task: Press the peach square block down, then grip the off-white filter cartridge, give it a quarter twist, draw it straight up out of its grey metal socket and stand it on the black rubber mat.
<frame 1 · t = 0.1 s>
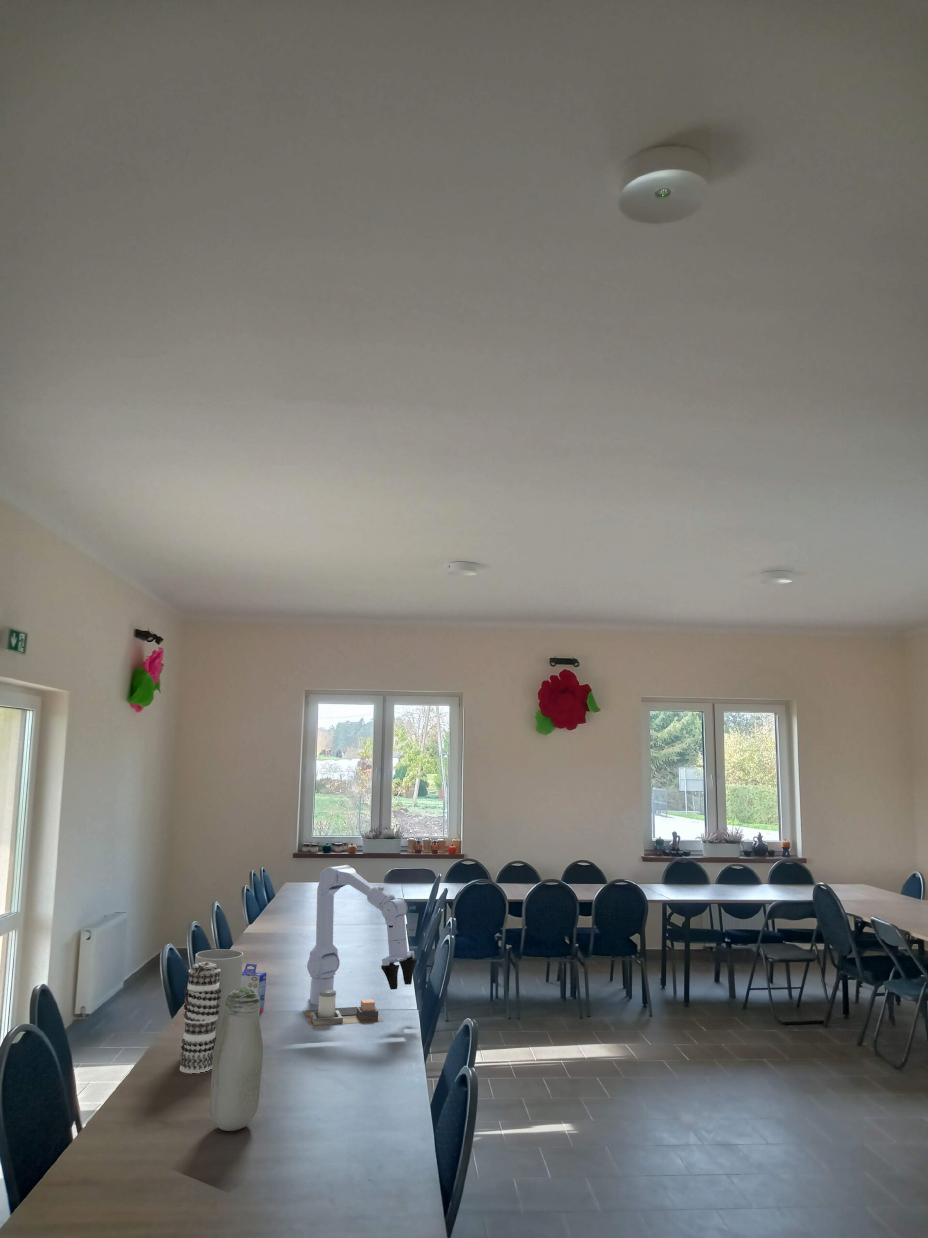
hand: (401, 987, 260), 10 cm above the table, tool pointing down, fingers open, 7 cm apart
filter cartridge: (326, 1020, 256), point 1 cm above the table, touching base board
base board: (342, 1019, 261), on the table
peach square block: (367, 1006, 261), point 4 cm above the table, slide at 0.0 cm
decorative candle: (196, 1068, 216), on the table
glass bottle: (232, 1129, 181), on the table
cylinder vase: (211, 1053, 227), on the table
rubber mat: (349, 1012, 265), resting on base board
ink cartridge box: (246, 1015, 263), on the table
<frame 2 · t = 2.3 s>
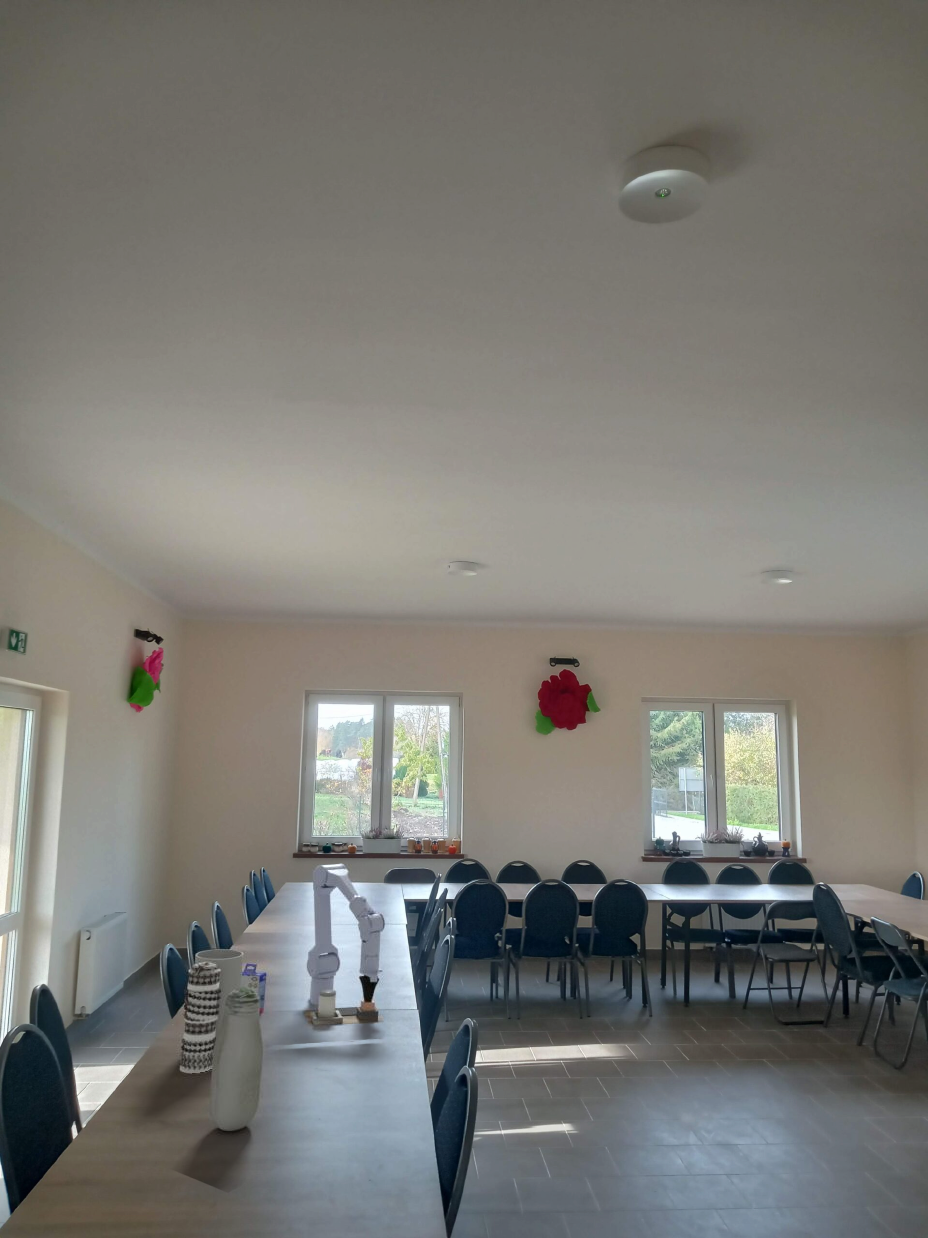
hand: (367, 1001, 261), 6 cm above the table, tool pointing down, fingers closed, pressing on peach square block
peach square block: (367, 1006, 260), point 4 cm above the table, slide at -0.1 cm, touching gripper
everything else where it was.
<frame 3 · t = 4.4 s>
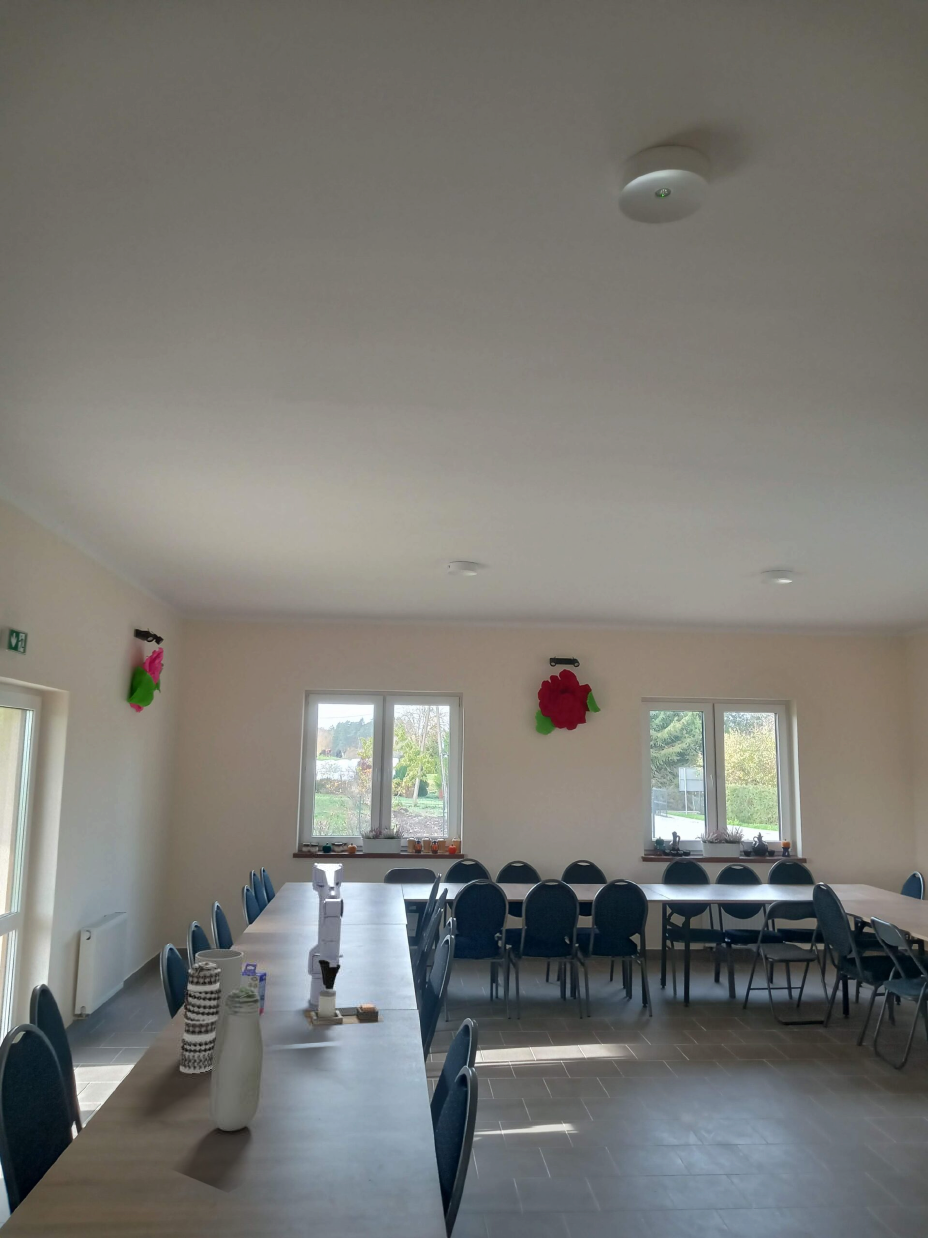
hand: (328, 987, 258), 10 cm above the table, tool pointing down, fingers open, 4 cm apart
peach square block: (367, 1011, 260), point 3 cm above the table, slide at -1.3 cm
everything else where it was.
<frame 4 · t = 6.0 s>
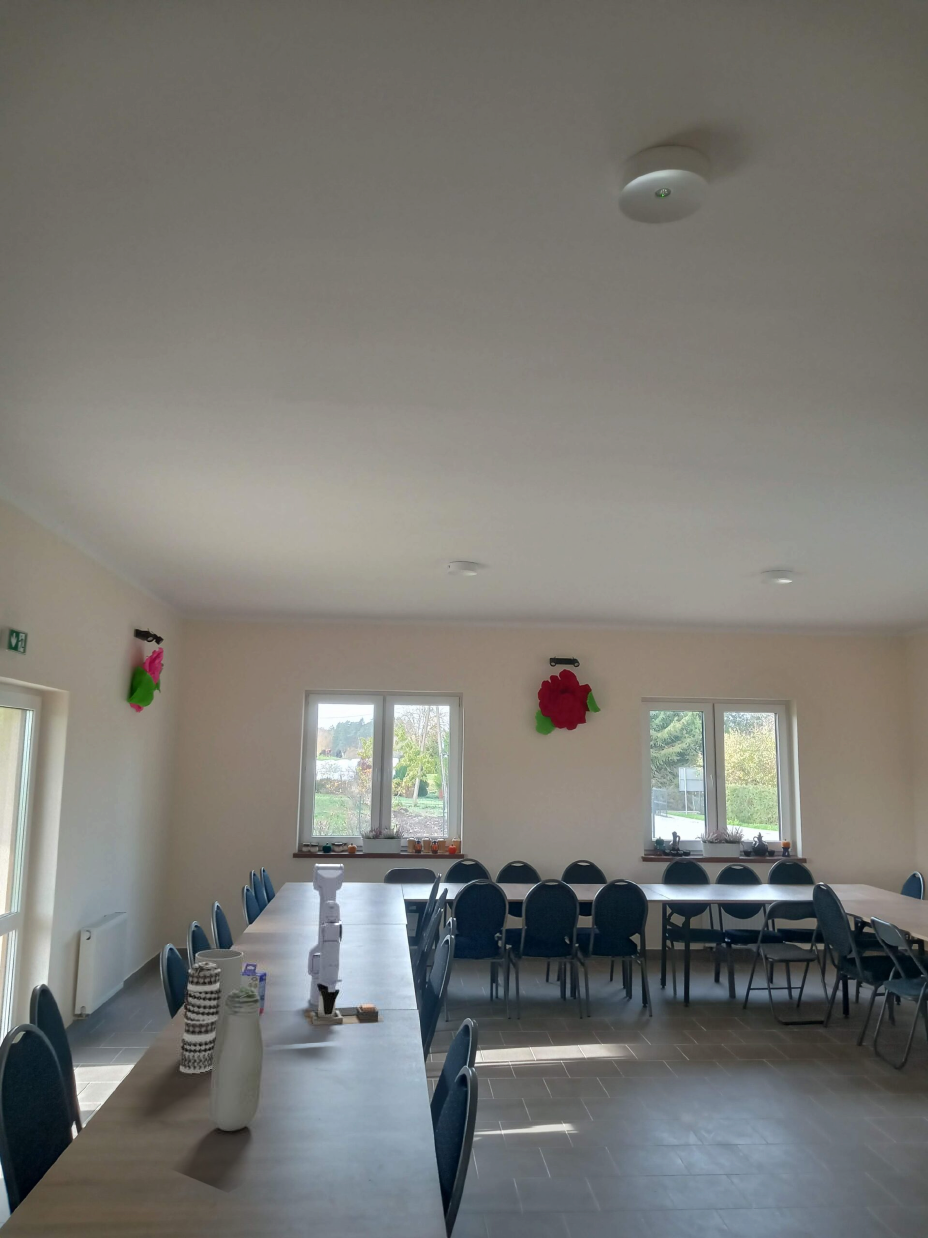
hand: (326, 1011, 257), 3 cm above the table, tool pointing down, fingers closed on filter cartridge, 5 cm apart
filter cartridge: (326, 1020, 256), point 1 cm above the table, touching base board, gripper
everything else where it was.
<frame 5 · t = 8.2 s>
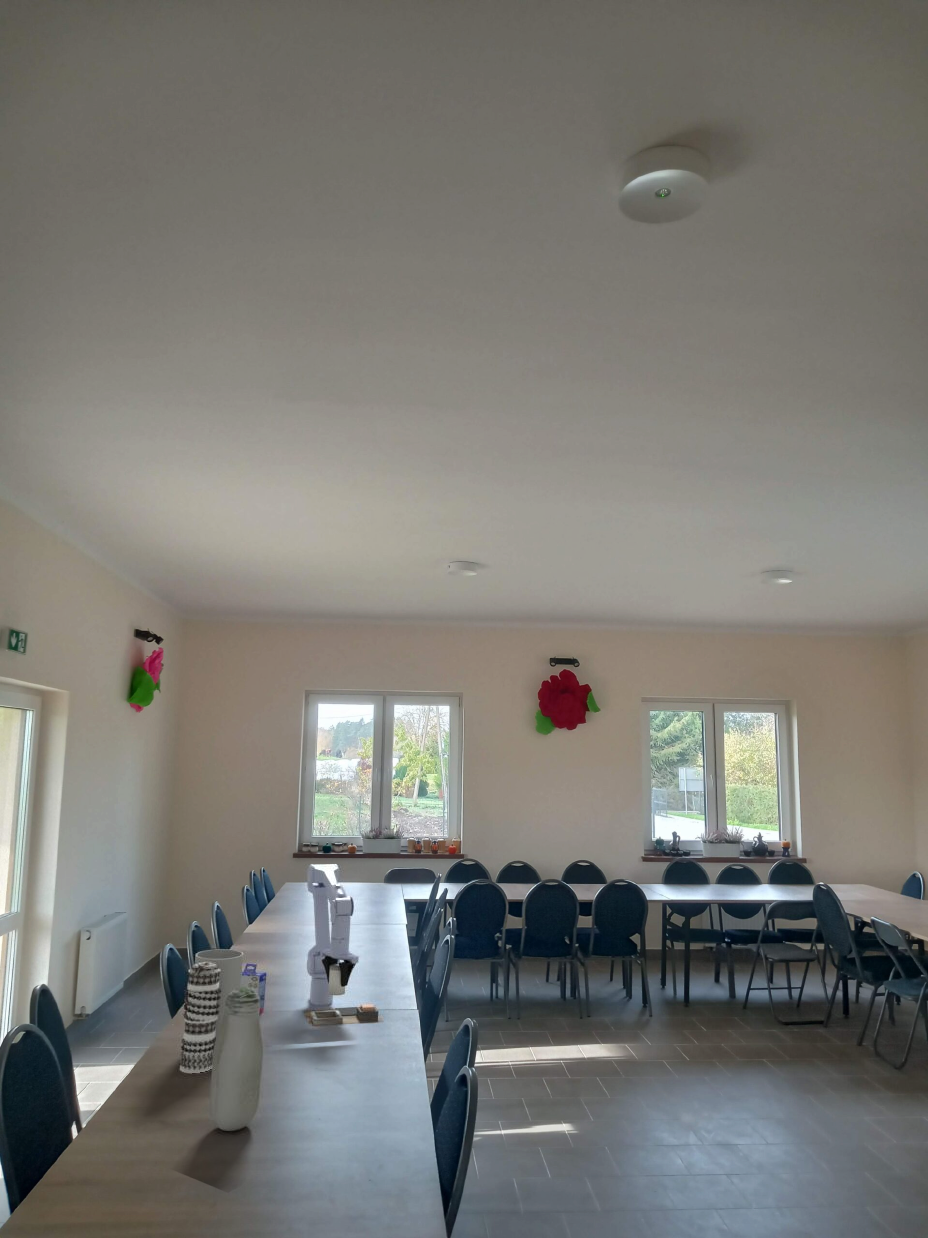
hand: (337, 984, 262), 10 cm above the table, tool pointing down, fingers closed on filter cartridge, 5 cm apart
filter cartridge: (336, 993, 261), point 8 cm above the table, touching gripper
everything else where it was.
when the fingers open (5 cm above the table, at t = 10.3 s): filter cartridge drops 1 cm, resting on rubber mat.
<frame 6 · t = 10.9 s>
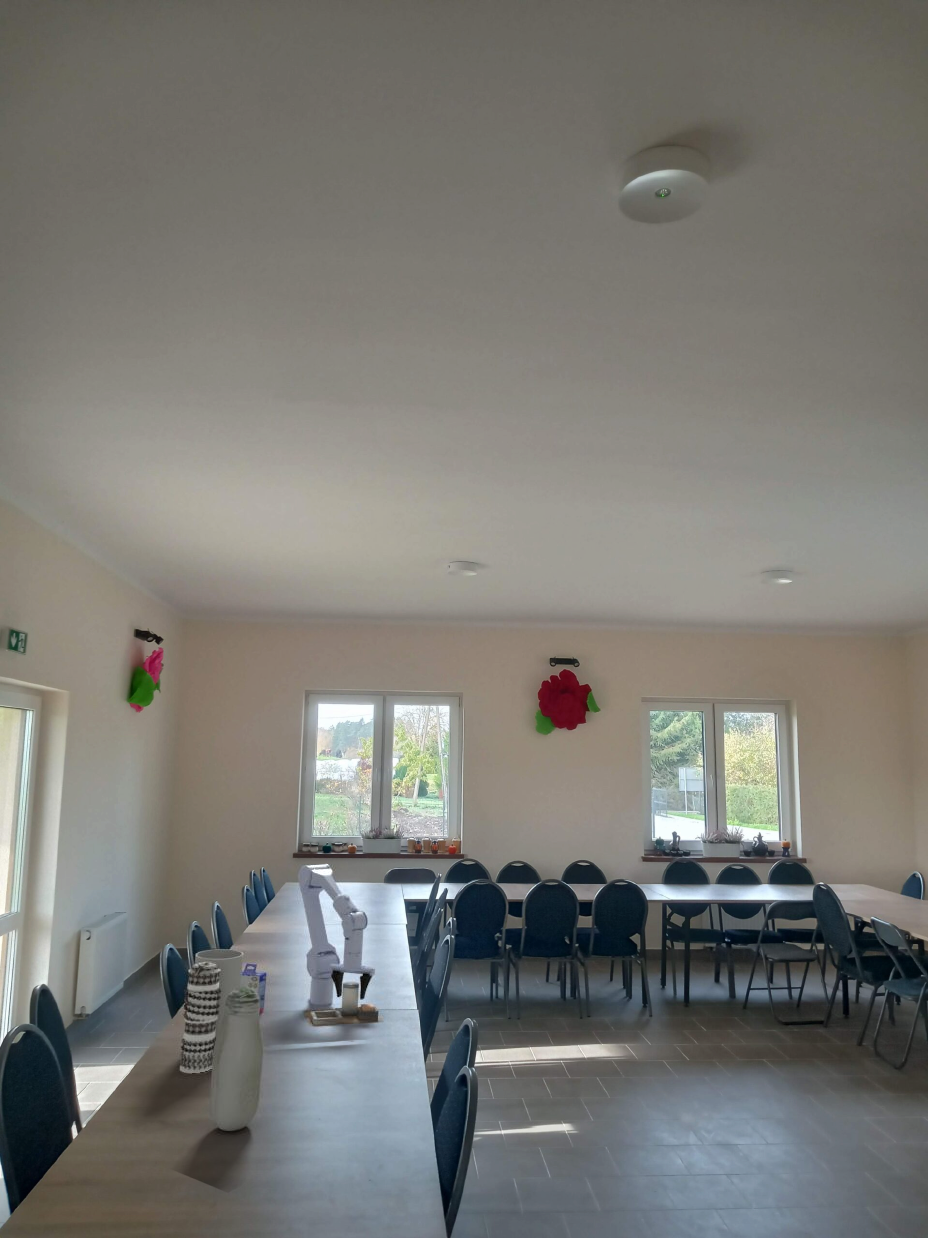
hand: (350, 997, 266), 5 cm above the table, tool pointing down, fingers open, 7 cm apart
filter cartridge: (349, 1011, 265), point 1 cm above the table, touching rubber mat
everything else where it was.
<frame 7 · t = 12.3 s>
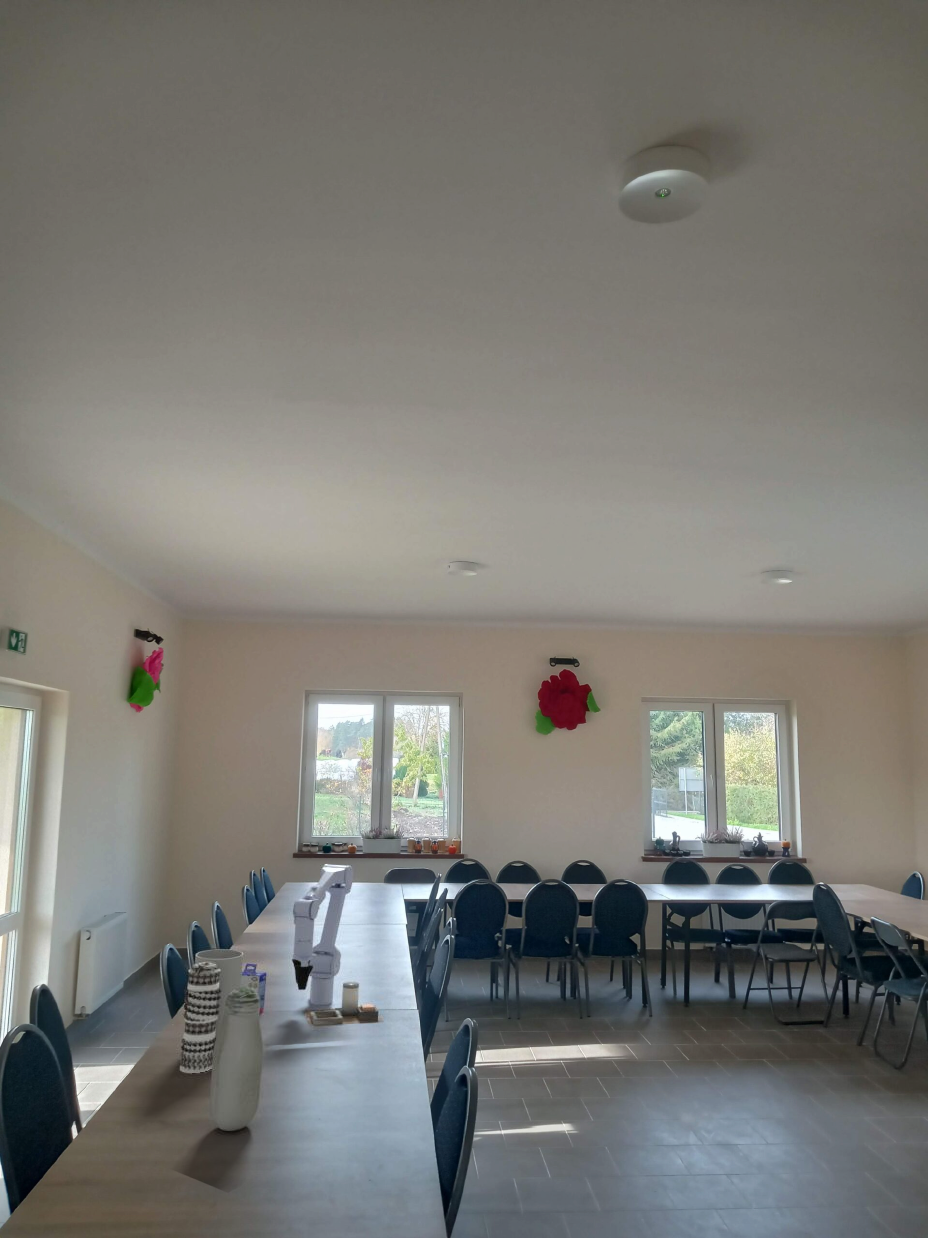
hand: (300, 986, 261), 9 cm above the table, tool pointing down, fingers open, 7 cm apart
nothing on the table moved.
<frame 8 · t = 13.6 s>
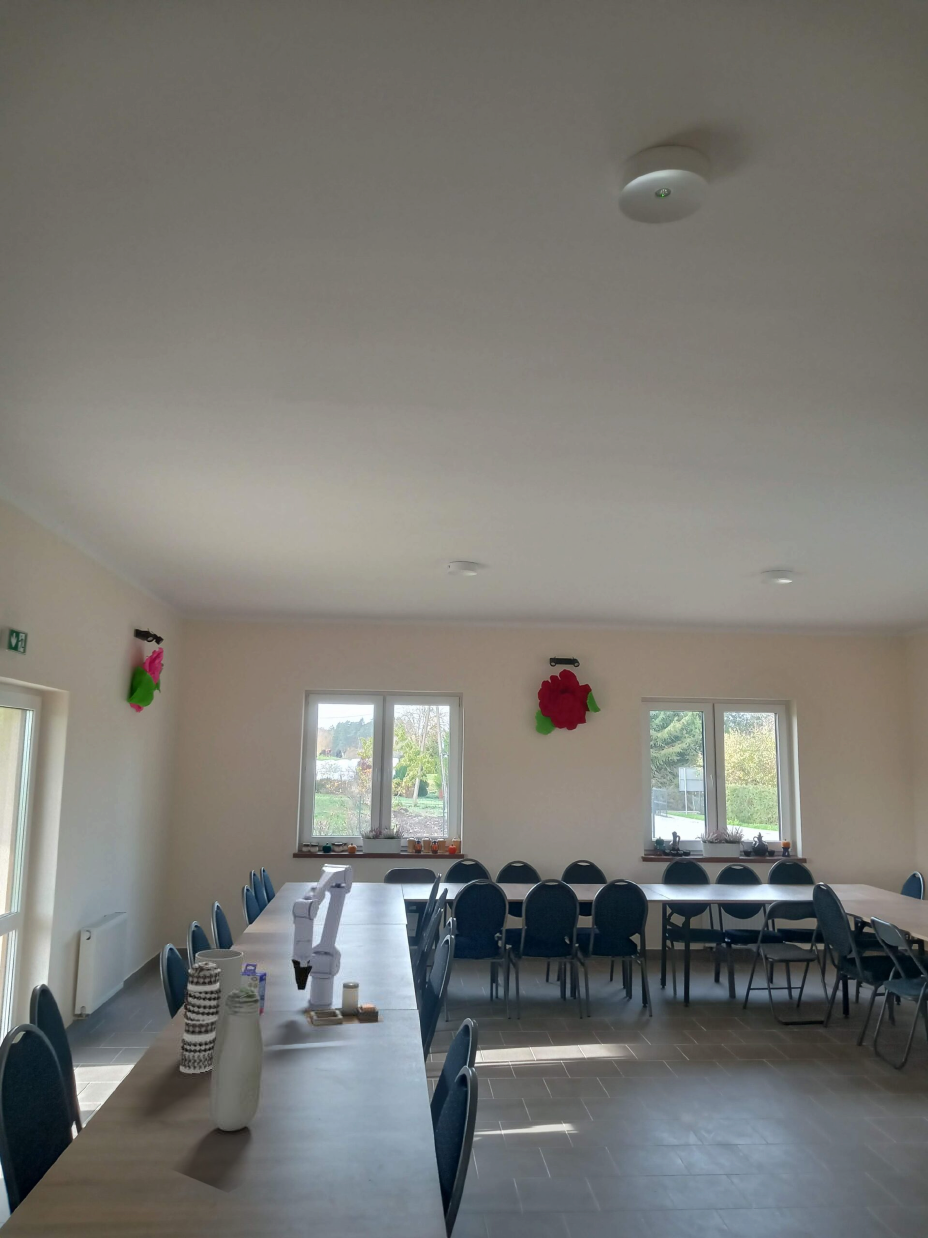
hand: (300, 986, 261), 9 cm above the table, tool pointing down, fingers open, 7 cm apart
nothing on the table moved.
at the end: peach square block slide at -1.3 cm; filter cartridge 0.2 cm from the target spot, point 1.3 cm above the table; filter cartridge tilted 0° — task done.
